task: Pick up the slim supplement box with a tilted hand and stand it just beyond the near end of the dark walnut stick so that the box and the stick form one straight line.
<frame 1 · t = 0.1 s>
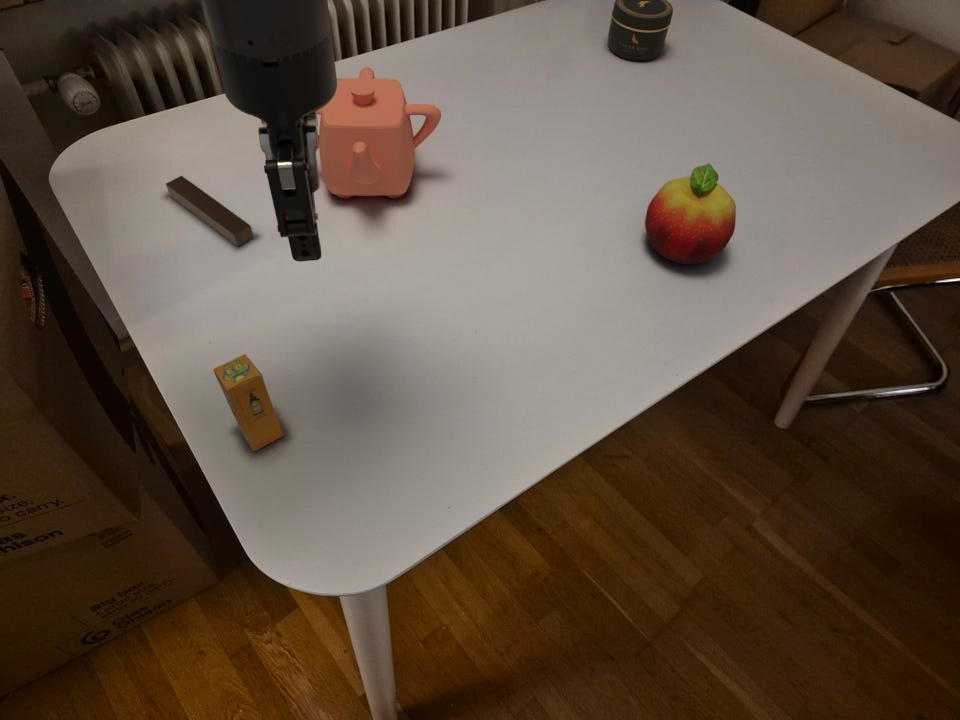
hand: (307, 222, 55), 20 cm above the table, tool pointing down, fingers open, 8 cm apart
teapot: (370, 181, 91), on the table
walnut stick: (211, 216, 84), on the table
fruit: (678, 248, 86), on the table
jar: (633, 50, 117), on the table
supplement box: (261, 433, 66), on the table
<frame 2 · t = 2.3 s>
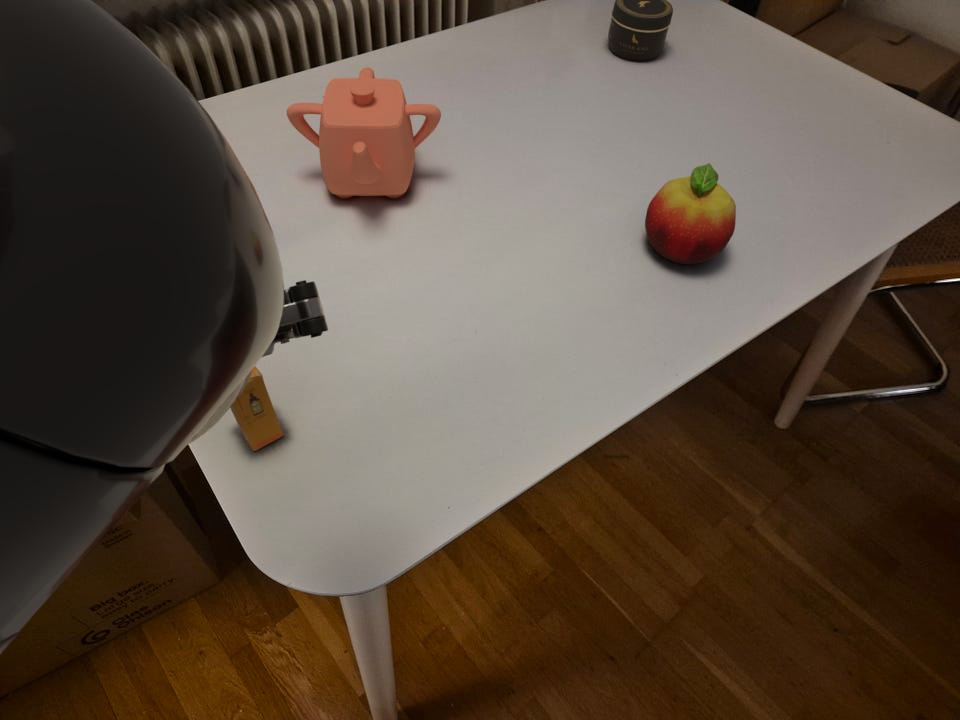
hand: (199, 340, 40), 26 cm above the table, tool tilted 40°, fingers open, 8 cm apart
nothing on the table moved.
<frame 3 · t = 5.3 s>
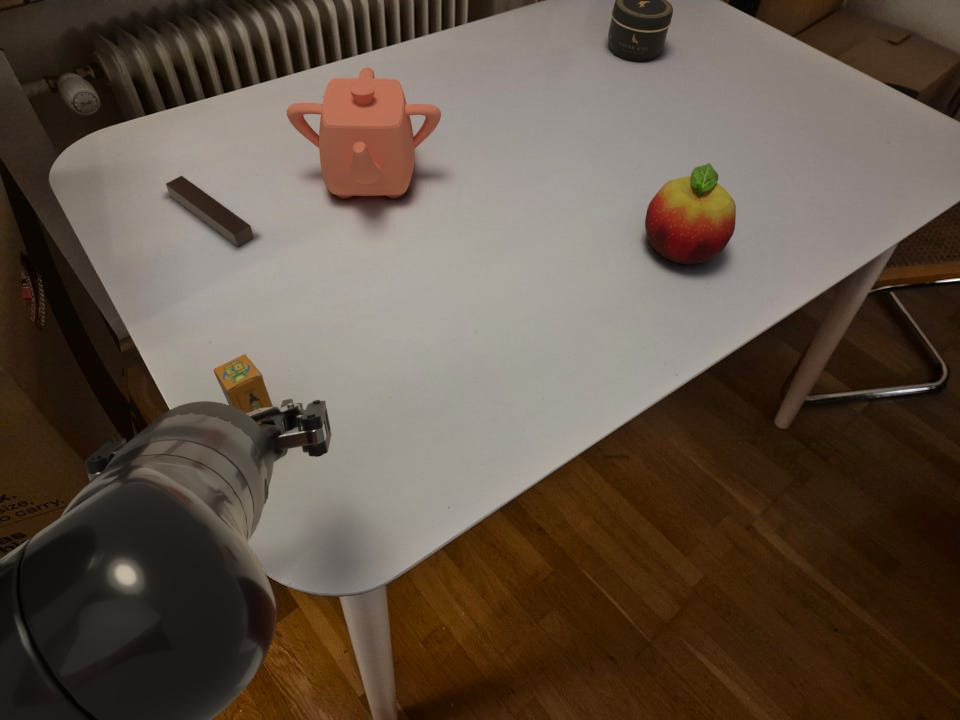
hand: (232, 423, 50), 14 cm above the table, tool tilted 45°, fingers open, 8 cm apart
nothing on the table moved.
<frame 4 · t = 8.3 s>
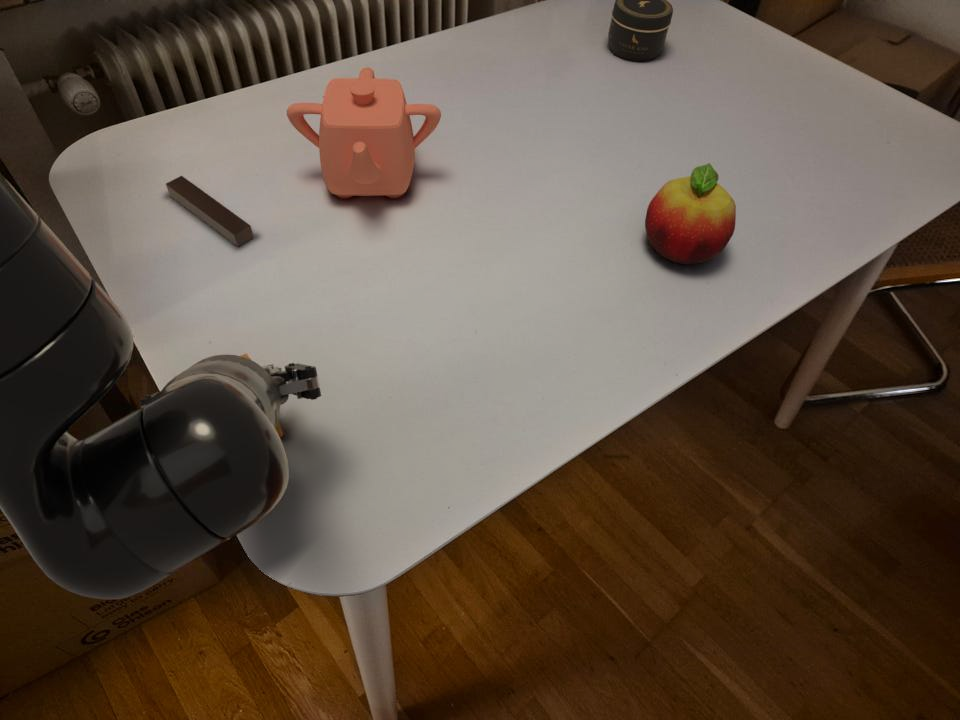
hand: (245, 380, 62), 6 cm above the table, tool tilted 45°, fingers closed on supplement box, 4 cm apart
supplement box: (261, 433, 66), on the table, touching gripper
everything else where it was.
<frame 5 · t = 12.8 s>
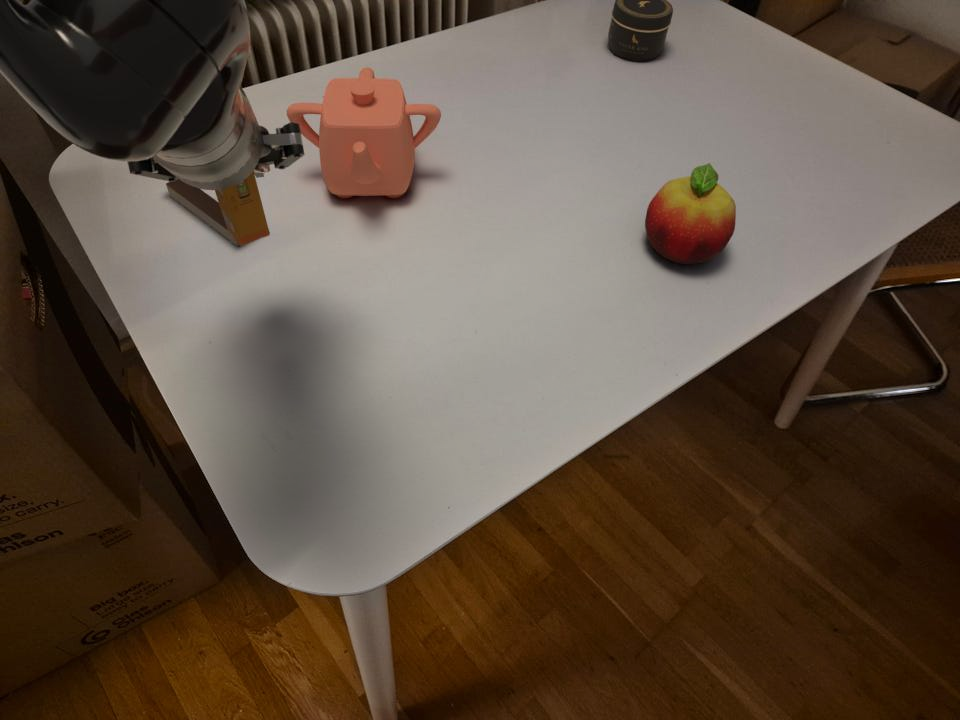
hand: (232, 168, 62), 18 cm above the table, tool tilted 45°, fingers closed on supplement box, 4 cm apart
supplement box: (248, 234, 66), point 12 cm above the table, touching gripper
everything else where it was.
when the fingers open (6 cm above the table, at t = 17.4 s): supplement box stays where it is, on the table.
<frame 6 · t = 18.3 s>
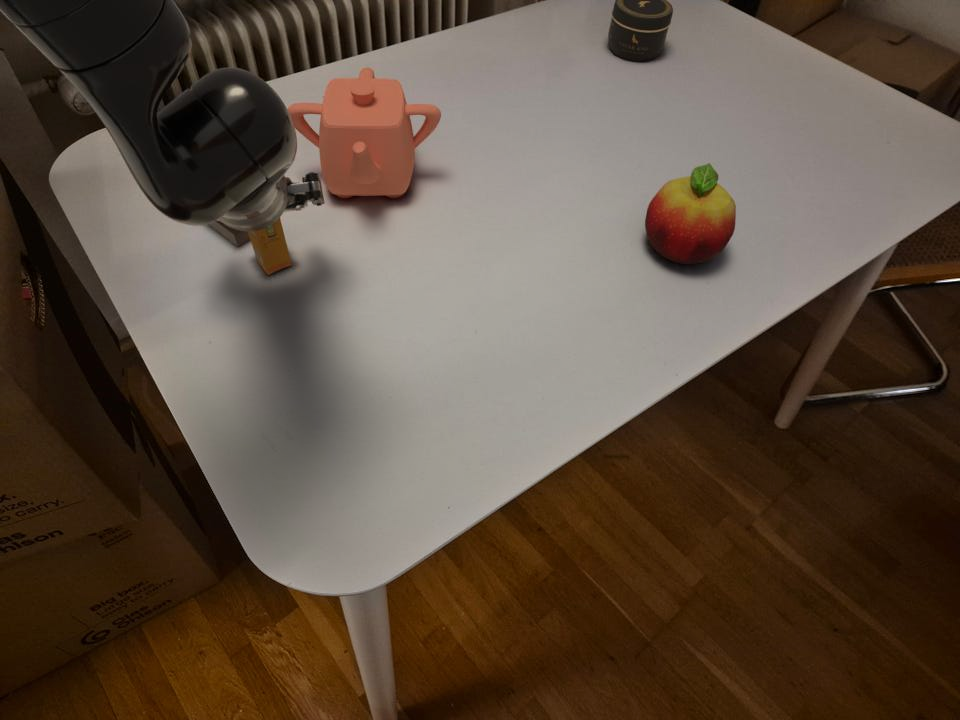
hand: (258, 206, 75), 8 cm above the table, tool tilted 45°, fingers open, 8 cm apart
supplement box: (273, 264, 80), on the table
everything else where it was.
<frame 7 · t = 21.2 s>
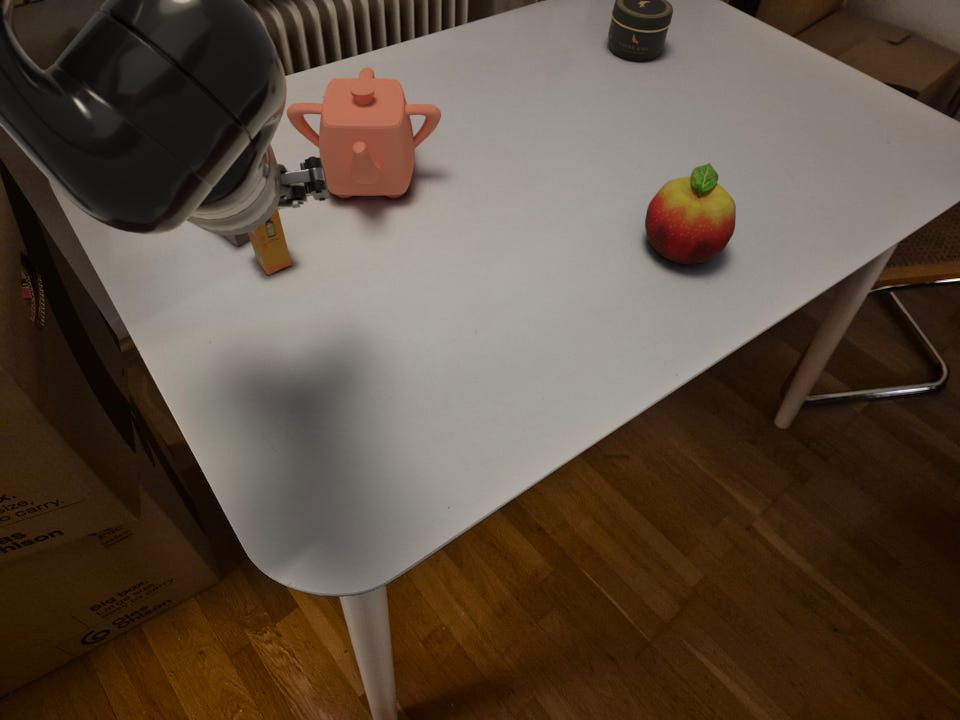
hand: (244, 202, 59), 18 cm above the table, tool tilted 45°, fingers open, 8 cm apart
nothing on the table moved.
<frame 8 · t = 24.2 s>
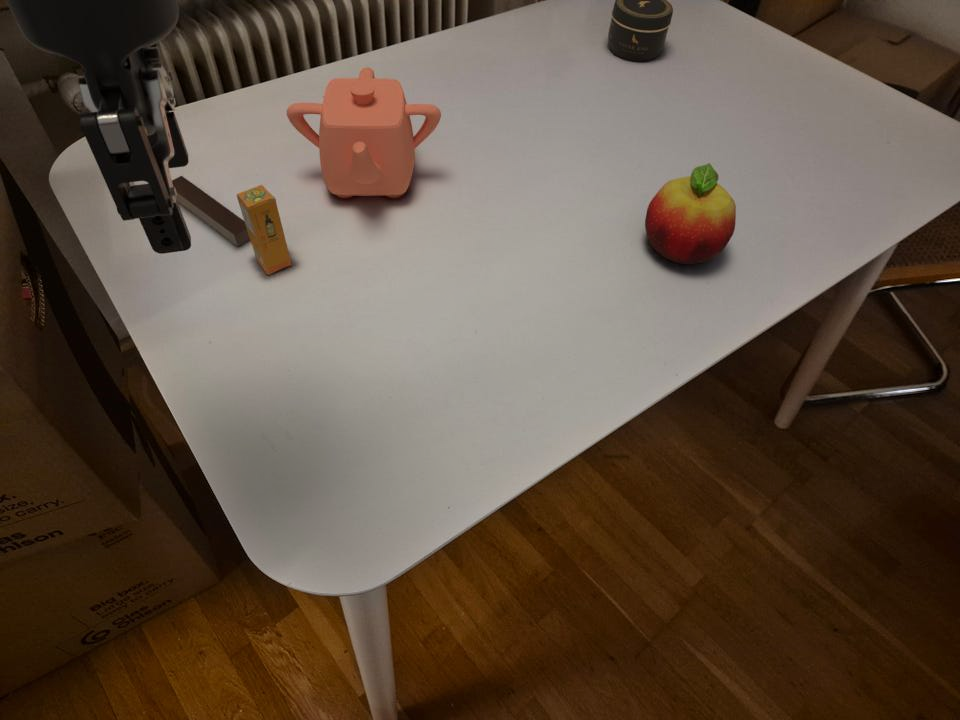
hand: (173, 204, 43), 28 cm above the table, tool pointing down, fingers open, 8 cm apart
nothing on the table moved.
at the end: supplement box 0.6 cm from the target spot on the table beside the walnut stick, on the table; supplement box tilted 0° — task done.
